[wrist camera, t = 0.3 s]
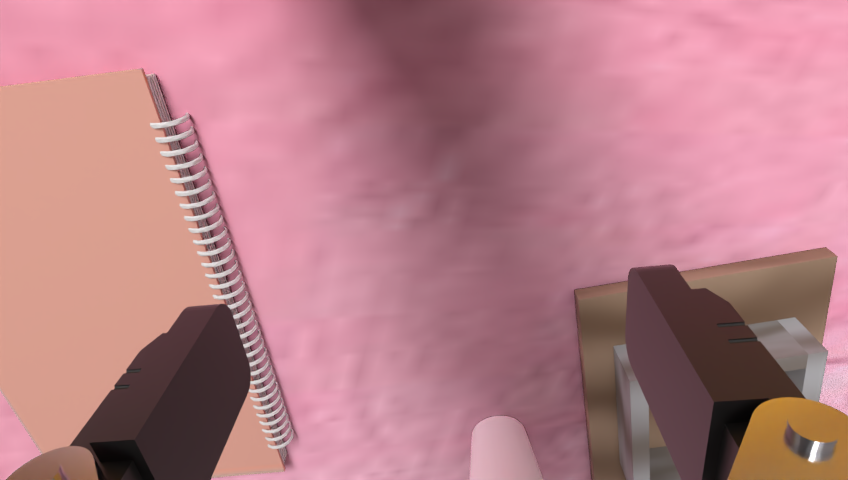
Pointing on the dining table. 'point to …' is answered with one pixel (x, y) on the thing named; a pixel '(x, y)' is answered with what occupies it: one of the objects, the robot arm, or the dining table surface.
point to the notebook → (107, 256)
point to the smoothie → (502, 451)
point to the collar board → (760, 309)
